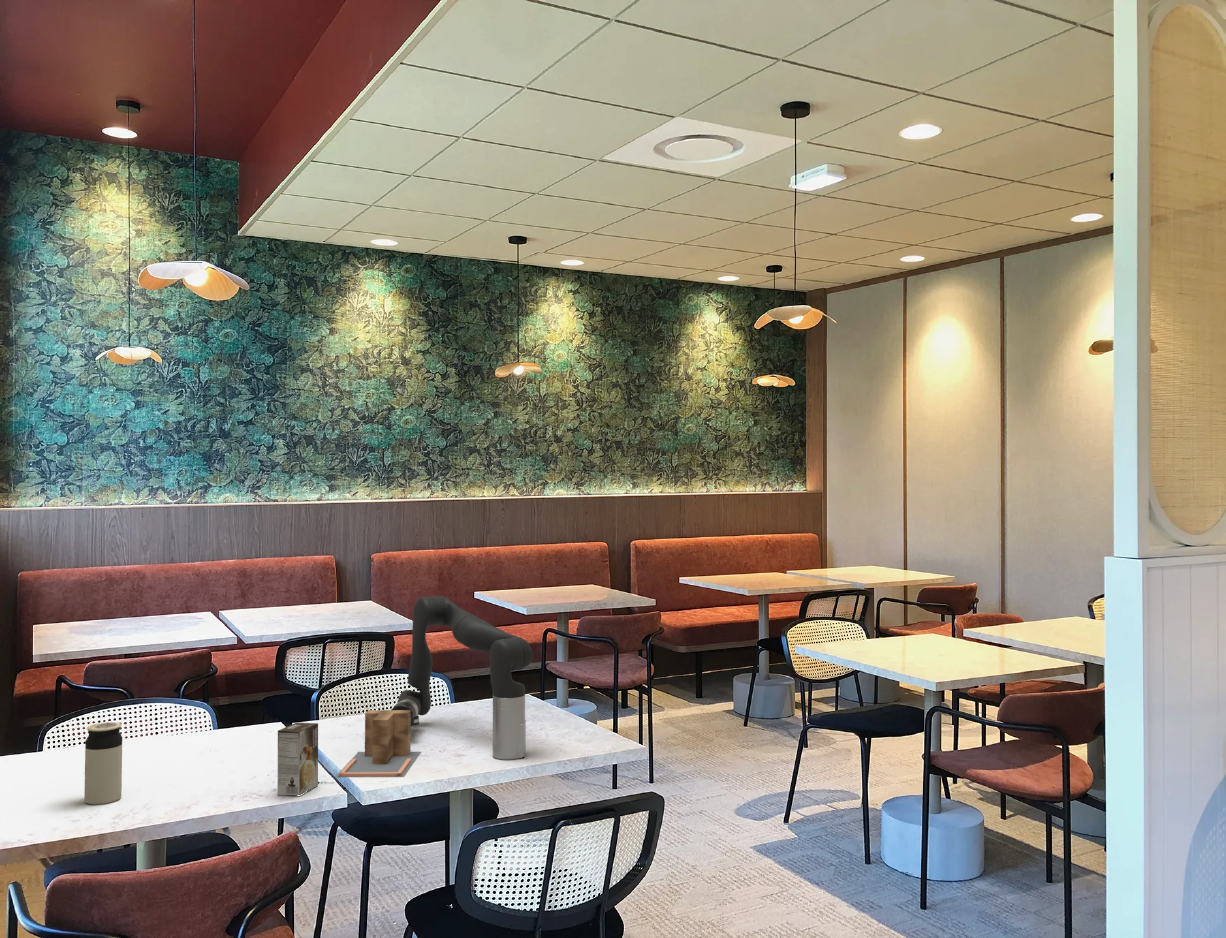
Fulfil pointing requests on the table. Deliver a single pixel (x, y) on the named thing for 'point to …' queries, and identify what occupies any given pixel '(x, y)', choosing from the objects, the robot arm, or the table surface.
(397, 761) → the board
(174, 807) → the table surface
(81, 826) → the table surface
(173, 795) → the table surface
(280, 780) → the coffee box
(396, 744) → the t block
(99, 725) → the travel mug
